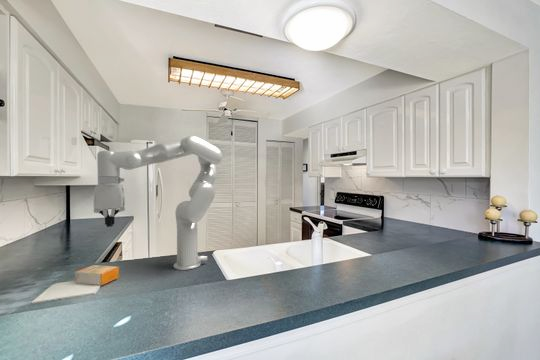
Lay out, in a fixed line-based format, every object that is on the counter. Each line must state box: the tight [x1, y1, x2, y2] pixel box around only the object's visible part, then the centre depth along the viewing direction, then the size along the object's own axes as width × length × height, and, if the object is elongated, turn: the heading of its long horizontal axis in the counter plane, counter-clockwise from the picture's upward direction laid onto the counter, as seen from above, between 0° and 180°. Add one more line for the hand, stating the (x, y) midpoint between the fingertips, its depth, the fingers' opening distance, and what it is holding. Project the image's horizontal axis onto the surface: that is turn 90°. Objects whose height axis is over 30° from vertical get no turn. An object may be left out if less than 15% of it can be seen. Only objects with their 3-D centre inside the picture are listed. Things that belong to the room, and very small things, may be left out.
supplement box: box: [74, 264, 120, 286], centre depth 98 cm, size 8×5×13 cm
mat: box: [30, 280, 102, 305], centre depth 91 cm, size 18×16×1 cm
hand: (109, 226), depth 97 cm, fingers closed
